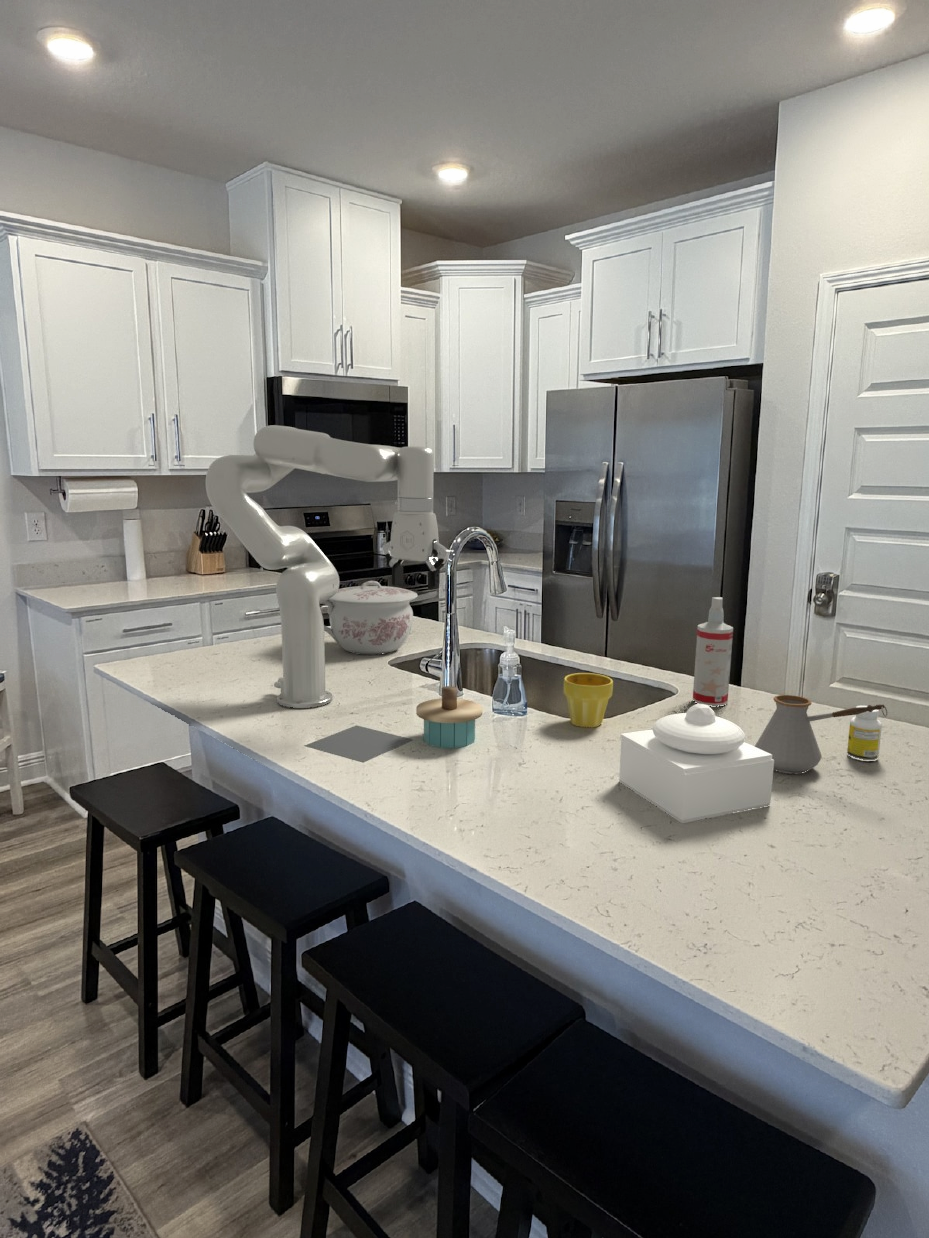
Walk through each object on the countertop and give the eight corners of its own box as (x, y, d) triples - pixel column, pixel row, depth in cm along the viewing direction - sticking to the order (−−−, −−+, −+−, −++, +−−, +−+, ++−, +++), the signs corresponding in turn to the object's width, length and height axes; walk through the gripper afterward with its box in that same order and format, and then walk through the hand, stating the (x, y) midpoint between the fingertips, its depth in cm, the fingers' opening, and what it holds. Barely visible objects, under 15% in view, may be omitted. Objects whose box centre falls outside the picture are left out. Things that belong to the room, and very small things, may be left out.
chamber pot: (433, 645, 242) (434, 578, 238) (389, 665, 218) (388, 590, 214) (355, 636, 253) (354, 572, 249) (304, 654, 229) (302, 583, 225)
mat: (304, 748, 153) (304, 745, 153) (356, 727, 165) (356, 725, 165) (363, 765, 145) (363, 762, 144) (413, 742, 157) (413, 739, 157)
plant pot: (610, 732, 164) (612, 686, 162) (560, 728, 166) (562, 683, 164) (611, 717, 174) (613, 674, 172) (564, 713, 176) (565, 671, 174)
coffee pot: (743, 767, 146) (750, 688, 143) (766, 751, 155) (773, 676, 152) (869, 799, 132) (879, 713, 129) (886, 779, 141) (896, 698, 138)
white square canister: (682, 824, 123) (688, 726, 120) (617, 782, 139) (621, 694, 136) (770, 807, 129) (778, 713, 126) (698, 768, 145) (704, 685, 142)
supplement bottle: (852, 750, 155) (857, 702, 153) (882, 757, 152) (888, 708, 150) (842, 757, 152) (847, 708, 150) (872, 765, 148) (878, 714, 146)
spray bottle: (714, 696, 191) (721, 594, 186) (733, 705, 184) (742, 599, 179) (686, 699, 188) (693, 595, 184) (705, 708, 181) (712, 600, 177)
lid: (402, 715, 155) (402, 690, 154) (441, 699, 165) (441, 676, 164) (458, 727, 148) (458, 701, 147) (494, 710, 158) (495, 686, 157)
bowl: (414, 743, 156) (414, 714, 155) (443, 730, 164) (443, 702, 163) (455, 754, 151) (456, 724, 150) (484, 739, 159) (484, 711, 158)
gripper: (372, 505, 169) (373, 585, 172) (438, 508, 159) (437, 593, 163) (394, 504, 175) (394, 581, 178) (459, 507, 165) (458, 588, 169)
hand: (415, 586), depth 170 cm, fingers open, 9 cm apart
